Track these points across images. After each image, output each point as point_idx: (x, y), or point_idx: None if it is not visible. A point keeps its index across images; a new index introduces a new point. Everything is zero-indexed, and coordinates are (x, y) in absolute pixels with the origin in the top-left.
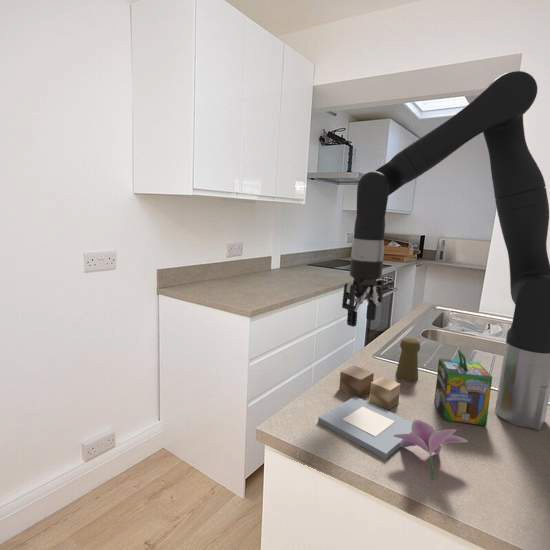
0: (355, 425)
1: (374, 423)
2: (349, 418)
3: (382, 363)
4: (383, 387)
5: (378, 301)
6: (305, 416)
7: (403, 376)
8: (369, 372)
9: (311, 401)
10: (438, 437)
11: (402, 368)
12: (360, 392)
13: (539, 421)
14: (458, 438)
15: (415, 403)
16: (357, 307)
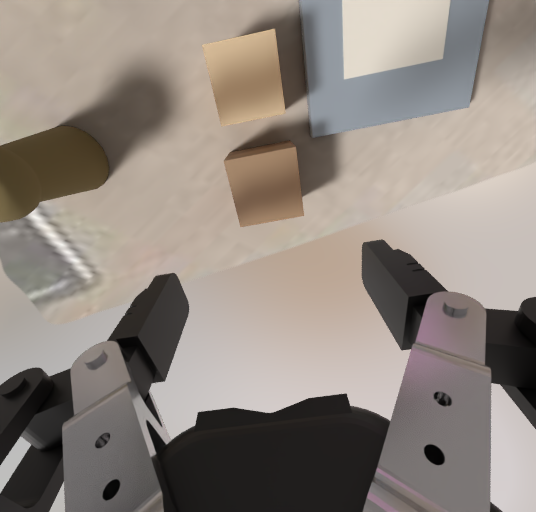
0: (446, 7)
1: None
2: (425, 49)
3: (96, 246)
4: (278, 60)
5: (52, 384)
6: (456, 144)
7: (96, 152)
8: (234, 170)
9: (392, 188)
10: None
11: (84, 164)
12: (288, 142)
13: None
14: None
15: (167, 20)
16: (447, 320)
